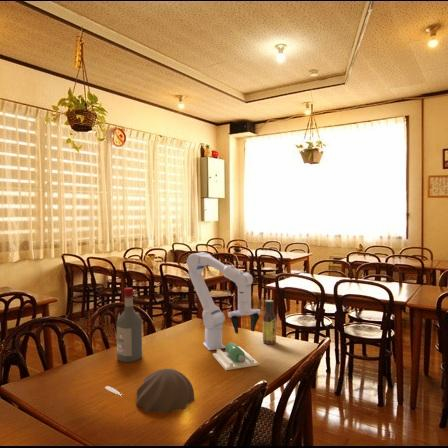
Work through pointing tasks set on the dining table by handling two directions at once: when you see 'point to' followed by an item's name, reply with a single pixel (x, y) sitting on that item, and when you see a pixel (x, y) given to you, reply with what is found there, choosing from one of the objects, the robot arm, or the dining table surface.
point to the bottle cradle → (230, 363)
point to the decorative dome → (165, 391)
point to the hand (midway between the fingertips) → (244, 331)
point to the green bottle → (235, 352)
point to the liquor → (129, 331)
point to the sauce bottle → (269, 323)
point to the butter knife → (112, 390)
